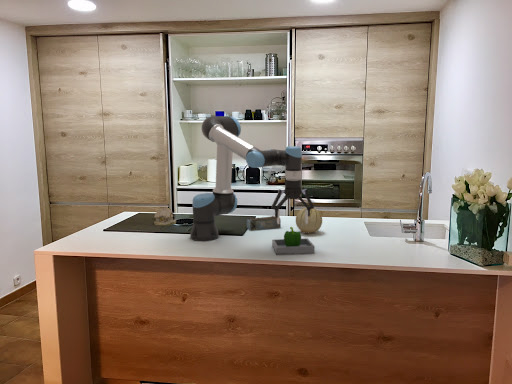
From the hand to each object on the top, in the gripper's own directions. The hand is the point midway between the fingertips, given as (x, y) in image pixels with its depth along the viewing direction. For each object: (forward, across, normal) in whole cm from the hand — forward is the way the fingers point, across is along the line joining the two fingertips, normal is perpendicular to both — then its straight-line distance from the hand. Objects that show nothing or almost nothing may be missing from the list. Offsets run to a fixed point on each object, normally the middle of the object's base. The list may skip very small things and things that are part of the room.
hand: (292, 223), depth 197 cm
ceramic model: (+15, -68, +65) cm, 95 cm away
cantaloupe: (+14, +15, +30) cm, 36 cm away
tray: (+13, 0, 0) cm, 13 cm away
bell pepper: (+12, 0, 0) cm, 12 cm away
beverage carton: (+14, -8, +44) cm, 47 cm away
